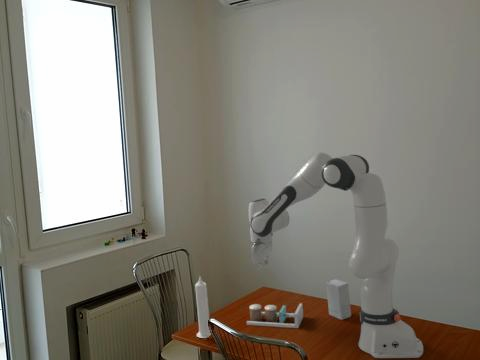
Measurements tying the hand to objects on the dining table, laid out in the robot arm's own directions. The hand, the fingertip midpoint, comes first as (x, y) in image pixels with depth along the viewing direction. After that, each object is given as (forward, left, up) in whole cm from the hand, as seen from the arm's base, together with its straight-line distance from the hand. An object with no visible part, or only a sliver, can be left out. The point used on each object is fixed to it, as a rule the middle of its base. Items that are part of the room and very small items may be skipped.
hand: (263, 267), depth 206 cm
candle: (+20, +22, -22) cm, 37 cm away
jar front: (-3, +4, -22) cm, 23 cm away
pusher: (-10, +4, -22) cm, 25 cm away
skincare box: (-31, -5, -22) cm, 38 cm away
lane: (-5, +4, -22) cm, 23 cm away
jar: (+4, +4, -22) cm, 23 cm away
